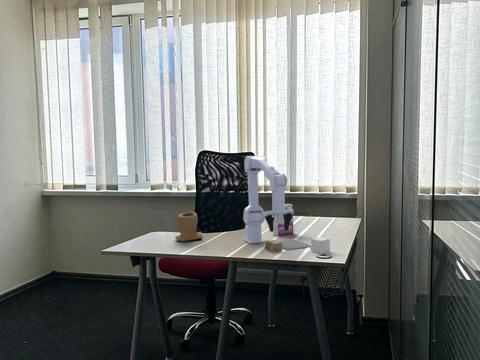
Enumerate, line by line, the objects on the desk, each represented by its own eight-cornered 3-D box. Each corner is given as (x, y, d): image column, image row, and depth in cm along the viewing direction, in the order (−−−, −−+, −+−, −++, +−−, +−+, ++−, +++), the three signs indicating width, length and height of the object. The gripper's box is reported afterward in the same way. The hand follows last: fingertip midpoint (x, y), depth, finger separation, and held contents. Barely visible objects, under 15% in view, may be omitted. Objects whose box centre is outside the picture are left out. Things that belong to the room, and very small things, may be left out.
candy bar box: (287, 232, 256) (287, 203, 255) (293, 233, 252) (293, 204, 251) (272, 235, 249) (271, 205, 248) (278, 236, 245) (277, 206, 244)
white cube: (311, 251, 208) (310, 238, 208) (320, 249, 212) (319, 237, 211) (321, 254, 203) (320, 240, 203) (330, 251, 207) (329, 238, 206)
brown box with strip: (264, 248, 217) (264, 240, 217) (273, 247, 219) (272, 239, 218) (273, 252, 209) (273, 243, 208) (282, 251, 210) (281, 242, 210)
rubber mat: (269, 243, 228) (269, 242, 228) (293, 240, 234) (293, 239, 234) (286, 250, 212) (286, 249, 212) (312, 247, 217) (312, 245, 217)
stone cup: (181, 244, 232) (180, 214, 231) (173, 240, 242) (172, 212, 241) (208, 240, 239) (207, 212, 238) (199, 237, 249) (198, 209, 248)
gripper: (268, 203, 200) (268, 233, 201) (296, 200, 206) (297, 230, 207) (261, 201, 206) (261, 231, 207) (289, 199, 212) (289, 228, 213)
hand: (278, 230), depth 207 cm, fingers open, 7 cm apart
